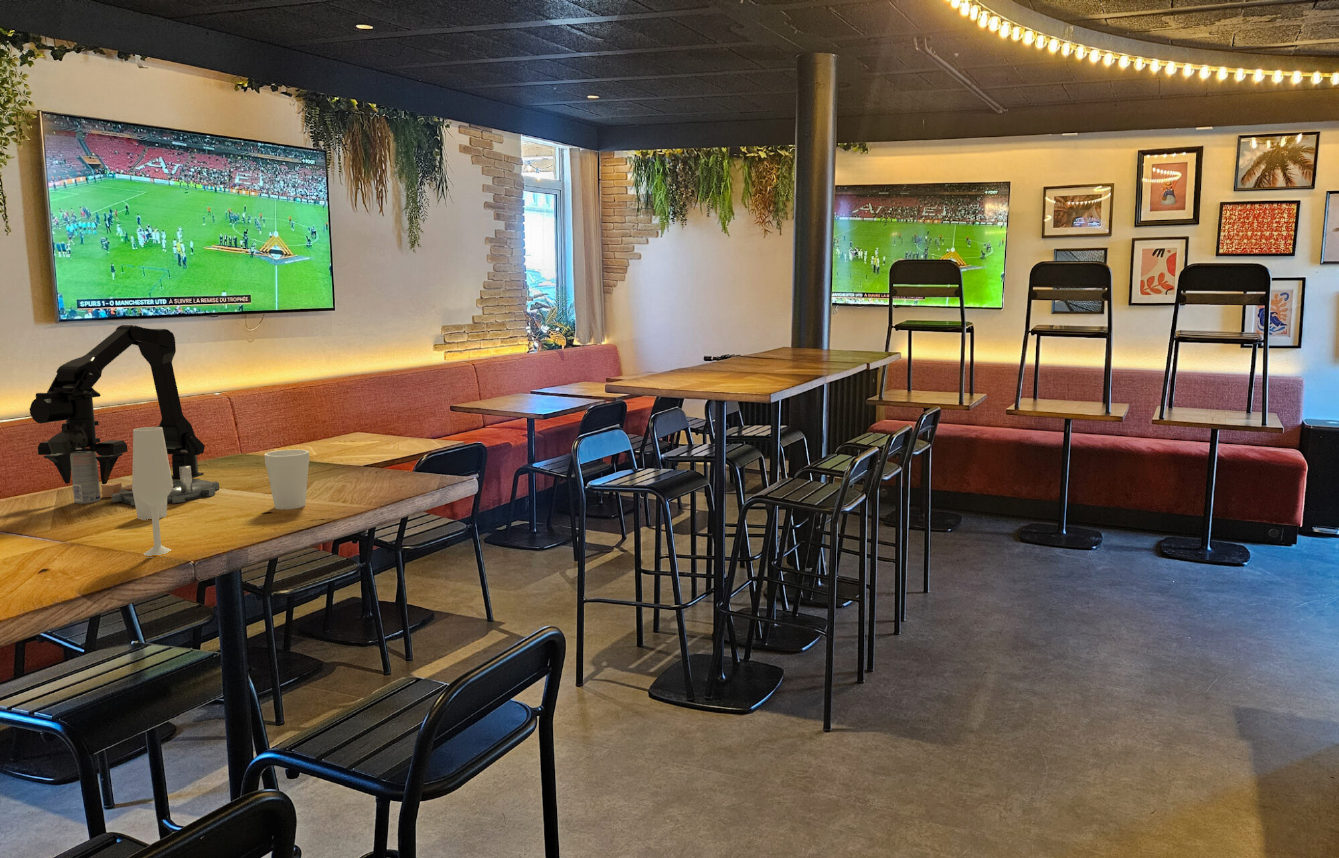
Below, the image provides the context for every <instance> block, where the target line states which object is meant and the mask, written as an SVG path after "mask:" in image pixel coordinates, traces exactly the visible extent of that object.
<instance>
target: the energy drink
mask: <svg viewBox="0 0 1339 858" xmlns="http://www.w3.org/2000/svg"><path fill="white" fill-rule="evenodd" d="M96 457H98V454H97V453H96V452H88V451H74V452H72V453H71V455H70V462H71V480H72V481H71V482H72V490H73V491H72V492H73V493H72V494H73V502H74V503H75V504H79V505H86V504H94V503H98V502H100V500H101V499H102V497H101V490H100V489H101V487H100V479H99V478H100V477H99V467H98V460H97V459H96Z"/></svg>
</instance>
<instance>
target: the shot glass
mask: <svg viewBox="0 0 1339 858" xmlns="http://www.w3.org/2000/svg"><path fill="white" fill-rule="evenodd" d="M132 491H133V490H132ZM133 496H134V501H135V505H134V506H135V510H136V517H137V520H139V519H141V520H140V521H149V520H148V519H152V514H151V505H149V504H146V503H145V502H144V501H142V500H141V499H139V498H138V497H137V496H136V495H135V494H134V492H133ZM158 512H159V519H162V517H163V518H165V517H167V516H168V503H167V497H166V498H165V499H164V500H163V501H162V502H161V503H160V504H158ZM146 519H147V520H146Z"/></svg>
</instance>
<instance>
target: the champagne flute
mask: <svg viewBox="0 0 1339 858" xmlns="http://www.w3.org/2000/svg"><path fill="white" fill-rule="evenodd" d="M132 430H133V431H132V474H131V475H132V477H131V478H132V479H131V480H132V481H131V482H132V483H131V485H132V490H133V492H134V494H135V495H136V496H137V497H138V498H139V499H141V500H142V501H144V502H145V503H146V504H149V505H151V514H152V520H151V521H152V523H151V524H152V534H153V535H152V536H153V546H152V547H151V548H150V549H149V550H146V551H145V552H144V553H143V554H144V555H145V556H146V555H147V556H152V555H161V554H166V553H168V552H169V551H171V550H172V549H170V548H168V547H167V546H164V545H162V540H161V538H162V537H161V527H160V524H161V523H160V518H159V512H158V504H160V503H161V502H162V501H163V500H164V499H165V498H166V497H167V496H168V495H169V494H170V492H171V491H172V488H173V482H172V480H173V478H172V476H171V475H172V472H171V466H170V462H169V461H170V460H169V457H168V455H169V454H167V450H166V444H165V439H164V434H163V428H162V427H156V426H147V427H146V426H145V427H138V428H133V429H132Z"/></svg>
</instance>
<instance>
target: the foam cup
mask: <svg viewBox="0 0 1339 858" xmlns="http://www.w3.org/2000/svg"><path fill="white" fill-rule="evenodd" d="M309 464H310V451H309V450H306V449H297V448H296V449H280V450H279V449H278V450H273V451H268V452H265V453H264V466H266V471H267V476H268V480H269V486H270V490H271V495H272V496H271V497H272V500H273V505H274V509H277V510H284V509H285V510H295V509H300V508H304V507H305V506H306V502H307V501H306V500H307V490H308V479H309V478H308V477H309V476H308V475H309Z"/></svg>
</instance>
